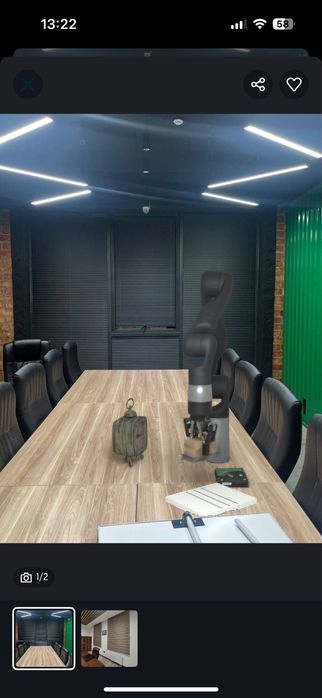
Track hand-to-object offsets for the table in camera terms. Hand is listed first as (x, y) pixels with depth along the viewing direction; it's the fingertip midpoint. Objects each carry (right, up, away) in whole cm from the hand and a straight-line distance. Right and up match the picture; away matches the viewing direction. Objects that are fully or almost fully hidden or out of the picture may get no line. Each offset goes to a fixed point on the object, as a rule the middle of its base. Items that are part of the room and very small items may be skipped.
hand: (200, 453), depth 155 cm
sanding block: (0, -2, 0) cm, 2 cm away
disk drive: (+12, -14, +17) cm, 25 cm away
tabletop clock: (-24, -12, +39) cm, 47 cm away
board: (+3, -14, -3) cm, 15 cm away
